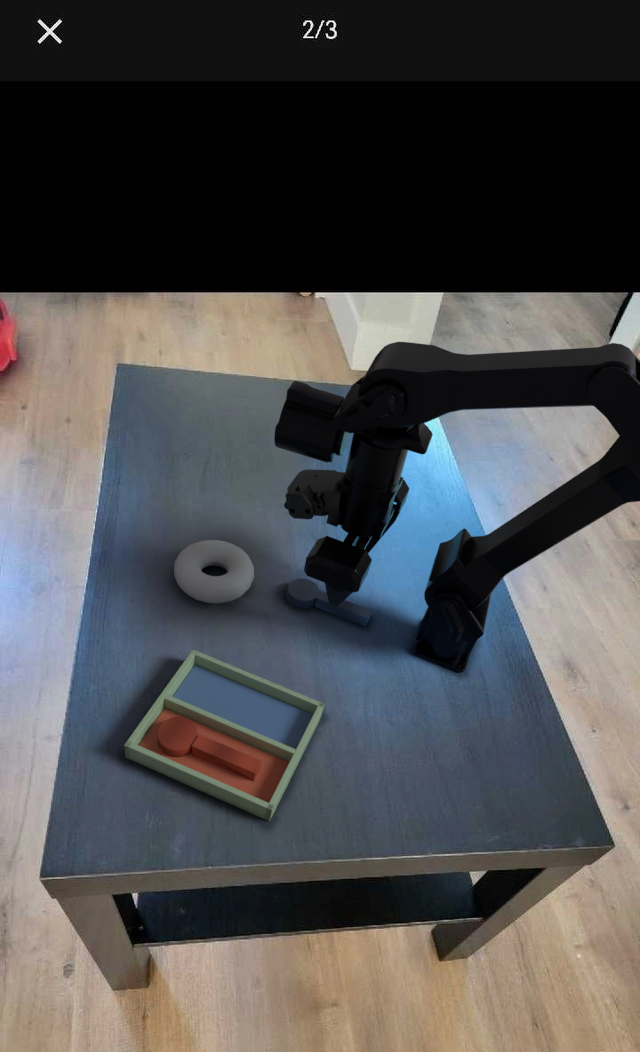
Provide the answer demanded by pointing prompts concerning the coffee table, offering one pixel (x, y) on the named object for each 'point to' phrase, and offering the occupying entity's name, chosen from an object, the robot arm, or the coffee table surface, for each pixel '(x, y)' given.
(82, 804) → the coffee table surface
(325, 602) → the blue spoon
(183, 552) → the donut
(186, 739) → the red spoon
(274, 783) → the tray
